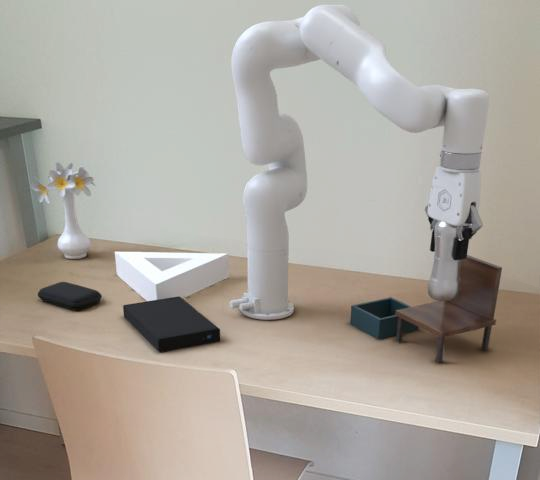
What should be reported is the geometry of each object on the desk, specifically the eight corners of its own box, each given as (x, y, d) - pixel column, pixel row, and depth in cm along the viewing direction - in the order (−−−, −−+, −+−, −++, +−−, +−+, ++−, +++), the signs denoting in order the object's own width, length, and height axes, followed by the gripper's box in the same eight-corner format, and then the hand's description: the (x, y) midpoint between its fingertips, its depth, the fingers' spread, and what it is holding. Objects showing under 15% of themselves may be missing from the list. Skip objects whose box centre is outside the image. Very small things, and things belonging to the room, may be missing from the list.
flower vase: (35, 261, 220) (20, 167, 206) (79, 245, 233) (68, 156, 220) (70, 269, 214) (58, 172, 201) (113, 252, 228) (104, 161, 215)
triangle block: (157, 310, 188) (155, 284, 185) (77, 290, 200) (74, 265, 196) (228, 277, 210) (228, 253, 206) (152, 261, 221) (151, 238, 218)
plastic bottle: (461, 305, 162) (476, 205, 151) (428, 304, 162) (440, 204, 151) (455, 294, 168) (469, 197, 157) (423, 294, 168) (435, 196, 157)
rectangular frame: (378, 339, 174) (379, 319, 172) (349, 324, 182) (351, 305, 179) (418, 329, 179) (420, 310, 177) (389, 315, 187) (391, 296, 184)
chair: (438, 364, 163) (449, 279, 153) (392, 340, 173) (400, 259, 164) (491, 350, 169) (505, 267, 160) (443, 328, 180) (454, 249, 170)
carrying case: (109, 301, 193) (67, 289, 200) (108, 288, 192) (66, 277, 199) (77, 313, 186) (35, 300, 193) (75, 300, 184) (33, 288, 191)
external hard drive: (180, 308, 189) (180, 296, 188) (220, 341, 172) (220, 328, 170) (124, 317, 184) (122, 305, 182) (159, 352, 166) (158, 339, 165)
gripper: (415, 155, 155) (406, 246, 164) (477, 170, 142) (463, 268, 152) (444, 152, 158) (433, 242, 168) (507, 167, 146) (491, 263, 155)
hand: (448, 254), depth 160 cm, fingers closed on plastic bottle, 6 cm apart
